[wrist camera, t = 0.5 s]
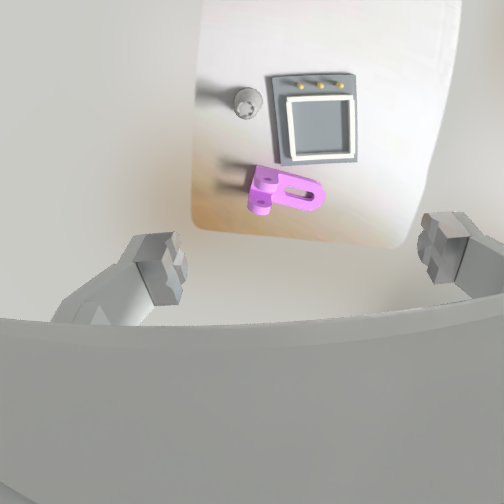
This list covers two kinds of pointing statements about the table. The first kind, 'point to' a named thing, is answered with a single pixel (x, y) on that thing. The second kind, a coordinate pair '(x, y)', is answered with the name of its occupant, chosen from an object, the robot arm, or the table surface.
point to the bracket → (281, 191)
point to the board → (316, 118)
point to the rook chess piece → (247, 103)
